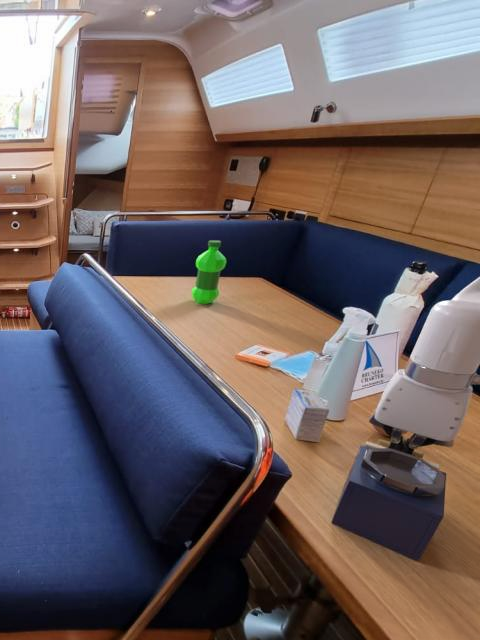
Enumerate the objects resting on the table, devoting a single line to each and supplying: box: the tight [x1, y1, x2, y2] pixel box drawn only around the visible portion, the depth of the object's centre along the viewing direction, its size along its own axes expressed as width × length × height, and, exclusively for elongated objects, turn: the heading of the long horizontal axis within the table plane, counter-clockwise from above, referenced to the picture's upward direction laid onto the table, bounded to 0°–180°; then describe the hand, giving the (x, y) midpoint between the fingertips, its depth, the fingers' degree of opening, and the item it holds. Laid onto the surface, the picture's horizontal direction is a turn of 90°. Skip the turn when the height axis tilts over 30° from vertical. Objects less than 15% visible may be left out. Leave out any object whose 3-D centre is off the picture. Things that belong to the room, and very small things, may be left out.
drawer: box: [364, 439, 441, 471], centre depth 74 cm, size 17×9×8 cm, turn 133°
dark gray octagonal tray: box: [361, 448, 445, 498], centre depth 68 cm, size 9×9×2 cm
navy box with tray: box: [330, 444, 447, 562], centre depth 70 cm, size 13×11×10 cm
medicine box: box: [284, 389, 330, 443], centre depth 93 cm, size 8×4×9 cm, turn 160°
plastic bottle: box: [191, 239, 228, 305], centre depth 167 cm, size 10×10×25 cm
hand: (395, 459), depth 77 cm, fingers closed
